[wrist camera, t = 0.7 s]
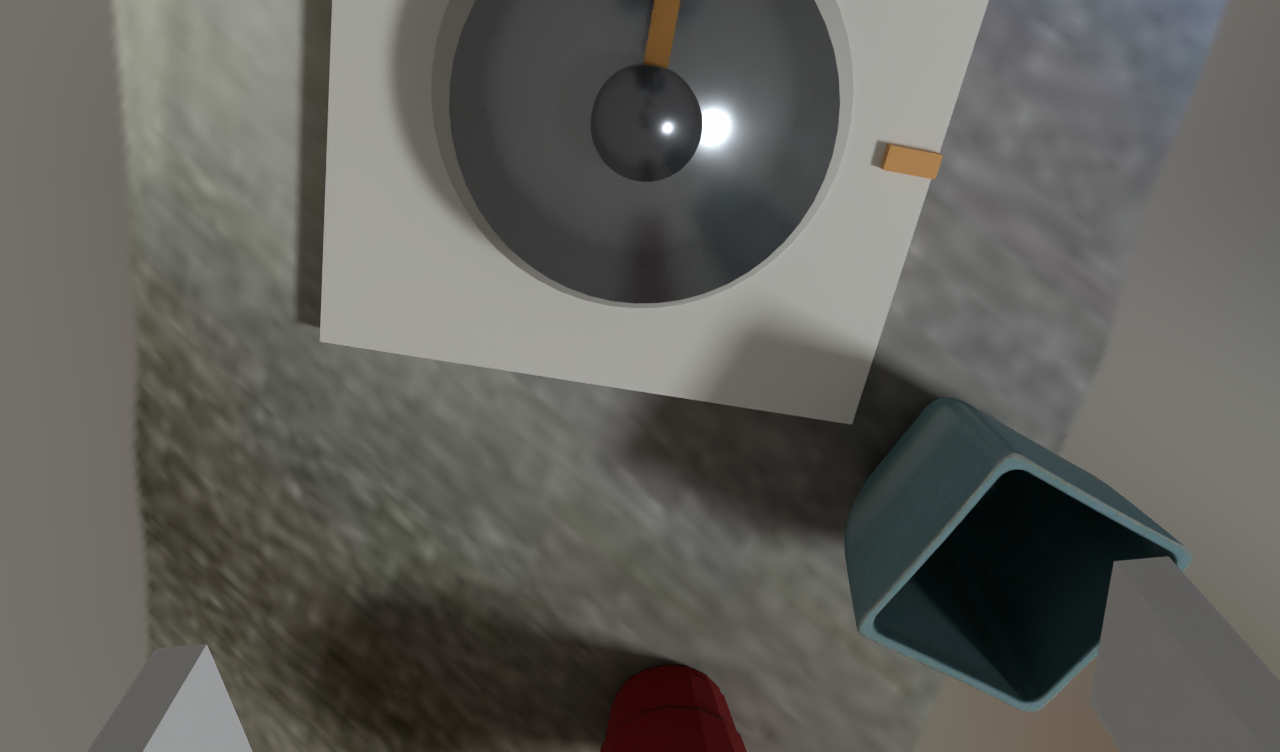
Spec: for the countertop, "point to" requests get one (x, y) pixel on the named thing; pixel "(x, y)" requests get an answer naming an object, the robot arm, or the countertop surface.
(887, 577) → the flower pot
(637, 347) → the panel
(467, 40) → the dial
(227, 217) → the countertop surface
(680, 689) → the plastic cup
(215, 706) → the robot arm
